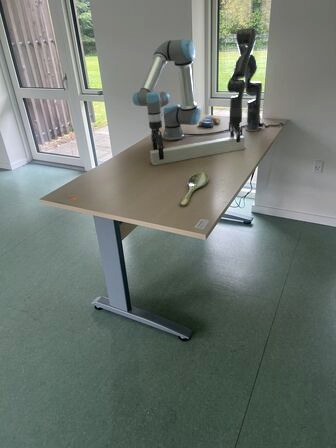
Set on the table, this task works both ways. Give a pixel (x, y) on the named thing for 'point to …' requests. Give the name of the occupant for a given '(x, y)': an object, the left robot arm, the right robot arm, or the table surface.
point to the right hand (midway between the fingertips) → (235, 140)
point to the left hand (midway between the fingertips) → (158, 155)
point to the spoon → (195, 184)
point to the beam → (197, 150)
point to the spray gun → (209, 121)
